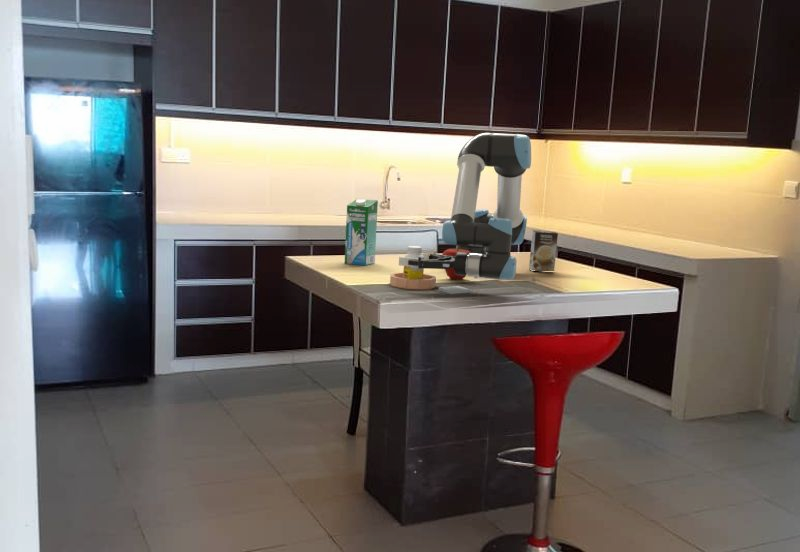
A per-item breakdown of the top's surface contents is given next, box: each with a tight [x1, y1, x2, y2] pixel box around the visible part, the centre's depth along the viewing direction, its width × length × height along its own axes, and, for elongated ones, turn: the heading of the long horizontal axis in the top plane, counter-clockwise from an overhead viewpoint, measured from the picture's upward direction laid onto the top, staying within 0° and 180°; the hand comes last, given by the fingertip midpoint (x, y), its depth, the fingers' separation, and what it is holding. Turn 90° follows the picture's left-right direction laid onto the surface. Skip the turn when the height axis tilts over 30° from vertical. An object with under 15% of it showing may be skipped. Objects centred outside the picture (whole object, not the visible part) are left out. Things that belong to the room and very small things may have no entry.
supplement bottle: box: [402, 245, 425, 280], centre depth 255 cm, size 7×7×13 cm
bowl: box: [389, 272, 437, 290], centre depth 256 cm, size 15×15×4 cm
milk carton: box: [344, 198, 379, 266], centre depth 302 cm, size 9×9×25 cm
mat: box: [430, 288, 477, 296], centre depth 249 cm, size 12×9×1 cm
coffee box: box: [528, 230, 559, 272], centre depth 308 cm, size 9×6×16 cm
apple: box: [441, 247, 470, 281], centre depth 274 cm, size 11×11×12 cm
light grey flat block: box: [438, 285, 471, 295], centre depth 249 cm, size 8×6×1 cm
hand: (404, 258), depth 256 cm, fingers open, 13 cm apart
